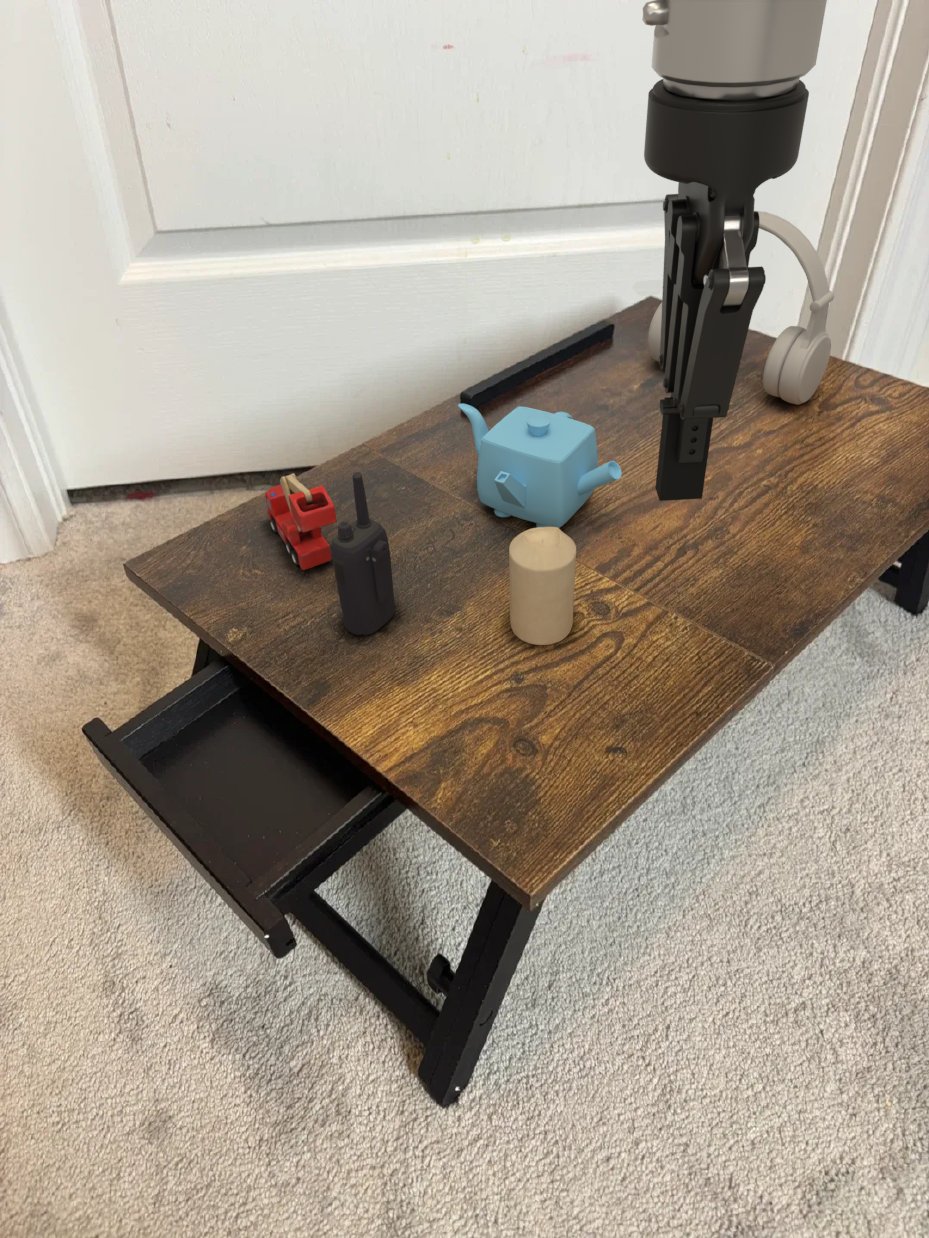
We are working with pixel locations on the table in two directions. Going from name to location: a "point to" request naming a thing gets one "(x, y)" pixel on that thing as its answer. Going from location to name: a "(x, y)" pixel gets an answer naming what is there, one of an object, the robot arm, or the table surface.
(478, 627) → the table surface
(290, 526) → the toy fire truck
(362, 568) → the two-way radio
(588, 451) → the teapot
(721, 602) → the table surface
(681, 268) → the robot arm
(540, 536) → the candle
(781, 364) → the headphones
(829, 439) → the table surface
